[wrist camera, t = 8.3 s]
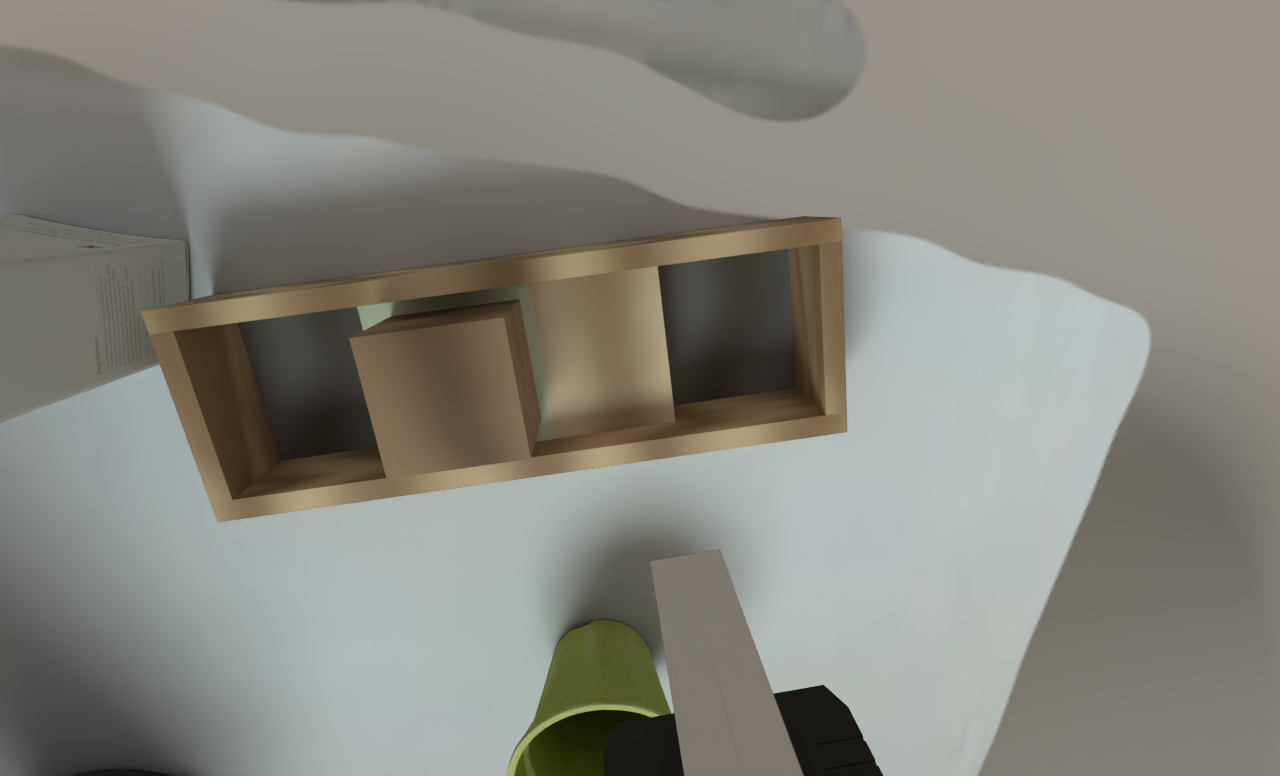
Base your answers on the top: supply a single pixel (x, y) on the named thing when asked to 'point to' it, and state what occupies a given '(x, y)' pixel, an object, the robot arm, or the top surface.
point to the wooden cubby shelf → (559, 352)
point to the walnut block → (449, 388)
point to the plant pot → (588, 700)
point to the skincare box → (78, 307)
